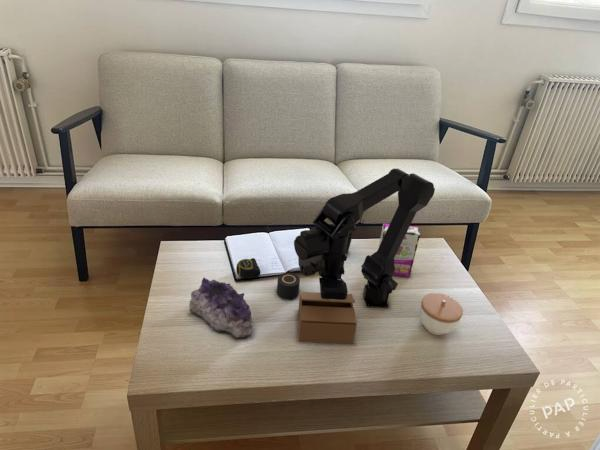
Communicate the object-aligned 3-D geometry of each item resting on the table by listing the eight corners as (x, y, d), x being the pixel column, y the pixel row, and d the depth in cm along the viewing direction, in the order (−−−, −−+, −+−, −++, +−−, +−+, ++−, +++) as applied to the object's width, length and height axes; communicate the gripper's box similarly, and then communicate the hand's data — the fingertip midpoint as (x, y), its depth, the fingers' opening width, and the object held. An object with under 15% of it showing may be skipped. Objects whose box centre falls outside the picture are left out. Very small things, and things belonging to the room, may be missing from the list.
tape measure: (260, 279, 126) (261, 269, 125) (238, 282, 124) (238, 272, 122) (255, 266, 132) (256, 256, 130) (234, 268, 130) (234, 258, 128)
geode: (267, 322, 111) (267, 297, 105) (237, 351, 103) (234, 325, 97) (215, 287, 120) (211, 262, 114) (183, 311, 113) (178, 285, 107)
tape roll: (298, 286, 125) (299, 272, 122) (298, 300, 119) (300, 286, 117) (277, 285, 125) (278, 271, 122) (276, 299, 119) (277, 285, 116)
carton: (298, 341, 106) (301, 320, 102) (298, 311, 115) (300, 291, 112) (352, 343, 106) (357, 322, 103) (347, 314, 116) (351, 294, 112)
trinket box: (449, 347, 108) (459, 321, 103) (410, 329, 112) (418, 303, 108) (459, 324, 116) (468, 298, 111) (422, 308, 121) (430, 283, 116)
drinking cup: (326, 255, 140) (333, 203, 130) (333, 244, 146) (340, 193, 136) (348, 261, 138) (356, 209, 128) (354, 250, 144) (363, 199, 134)
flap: (301, 300, 106) (301, 298, 106) (300, 292, 112) (300, 291, 112) (354, 303, 107) (354, 301, 107) (351, 295, 112) (351, 293, 112)
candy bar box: (407, 268, 137) (418, 226, 129) (409, 277, 133) (421, 234, 125) (374, 264, 138) (383, 222, 130) (374, 273, 134) (384, 230, 125)
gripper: (301, 226, 108) (296, 273, 116) (302, 269, 92) (297, 320, 100) (343, 228, 109) (335, 275, 117) (351, 271, 93) (342, 323, 101)
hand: (327, 297), depth 108 cm, fingers closed
